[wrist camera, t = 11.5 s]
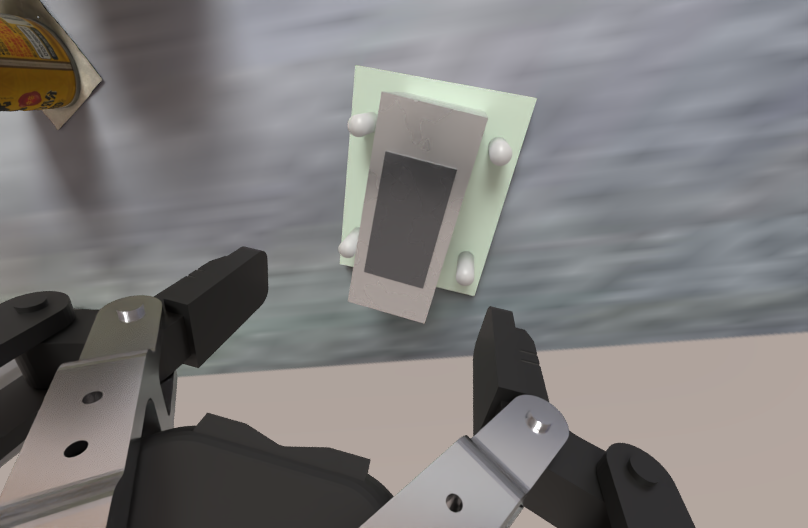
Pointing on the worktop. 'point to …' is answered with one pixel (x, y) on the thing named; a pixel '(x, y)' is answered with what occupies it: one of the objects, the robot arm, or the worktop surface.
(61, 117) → the condiment
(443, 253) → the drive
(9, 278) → the worktop surface
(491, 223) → the pale green pegged board
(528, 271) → the worktop surface
